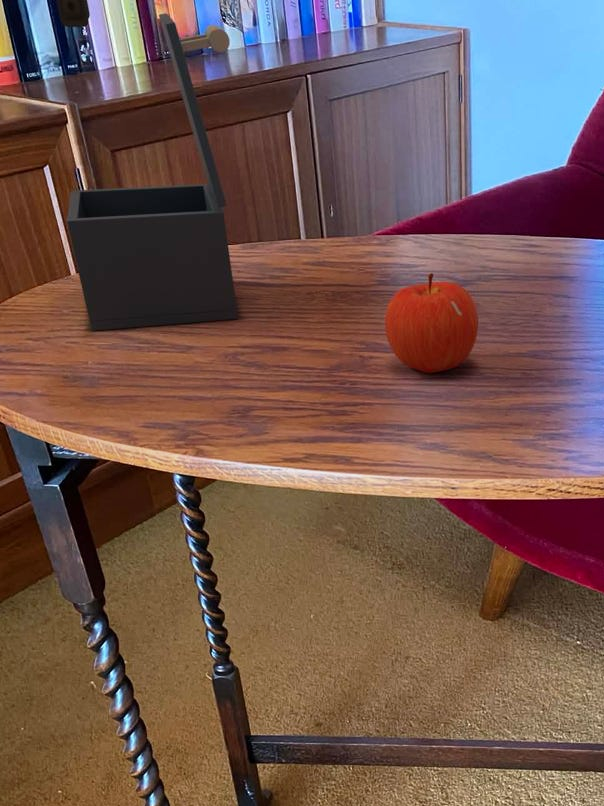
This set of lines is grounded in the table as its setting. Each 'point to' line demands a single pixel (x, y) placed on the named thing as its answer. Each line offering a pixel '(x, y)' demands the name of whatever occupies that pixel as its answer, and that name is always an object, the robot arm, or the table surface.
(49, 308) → the table surface
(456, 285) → the apple
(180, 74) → the lid
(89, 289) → the chest
